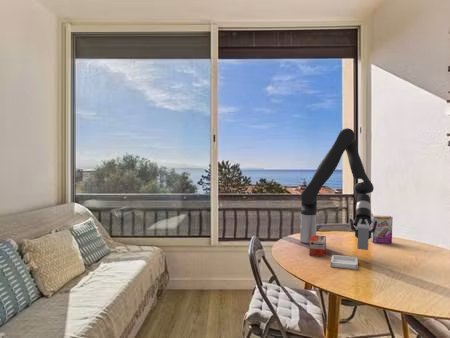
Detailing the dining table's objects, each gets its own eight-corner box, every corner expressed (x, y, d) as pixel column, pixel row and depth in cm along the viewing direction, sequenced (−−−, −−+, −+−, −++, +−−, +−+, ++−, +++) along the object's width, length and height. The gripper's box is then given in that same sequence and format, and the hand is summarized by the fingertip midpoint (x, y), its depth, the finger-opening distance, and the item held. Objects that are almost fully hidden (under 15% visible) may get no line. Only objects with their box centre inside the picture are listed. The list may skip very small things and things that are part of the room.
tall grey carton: (357, 248, 169) (358, 225, 169) (357, 246, 175) (358, 223, 174) (368, 250, 168) (369, 226, 167) (367, 247, 173) (368, 224, 173)
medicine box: (325, 257, 174) (325, 242, 174) (309, 255, 176) (309, 240, 176) (326, 249, 188) (326, 235, 188) (311, 248, 191) (311, 234, 190)
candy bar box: (373, 243, 201) (373, 216, 200) (370, 241, 206) (370, 215, 205) (392, 243, 199) (392, 216, 199) (389, 241, 204) (389, 215, 204)
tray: (330, 266, 158) (330, 262, 158) (332, 259, 170) (332, 254, 170) (357, 269, 153) (357, 265, 153) (357, 261, 165) (357, 257, 165)
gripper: (349, 206, 180) (348, 232, 170) (378, 208, 175) (379, 235, 165) (349, 214, 186) (348, 240, 175) (377, 216, 180) (377, 243, 170)
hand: (363, 237), depth 170 cm, fingers closed on tall grey carton, 5 cm apart
